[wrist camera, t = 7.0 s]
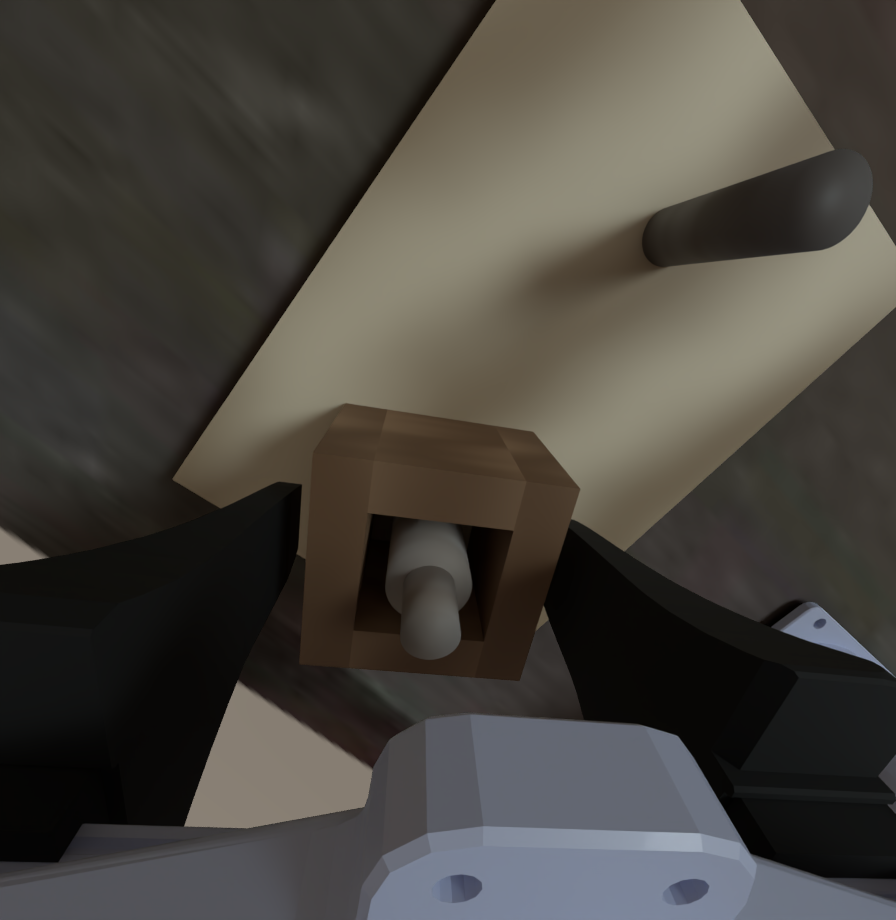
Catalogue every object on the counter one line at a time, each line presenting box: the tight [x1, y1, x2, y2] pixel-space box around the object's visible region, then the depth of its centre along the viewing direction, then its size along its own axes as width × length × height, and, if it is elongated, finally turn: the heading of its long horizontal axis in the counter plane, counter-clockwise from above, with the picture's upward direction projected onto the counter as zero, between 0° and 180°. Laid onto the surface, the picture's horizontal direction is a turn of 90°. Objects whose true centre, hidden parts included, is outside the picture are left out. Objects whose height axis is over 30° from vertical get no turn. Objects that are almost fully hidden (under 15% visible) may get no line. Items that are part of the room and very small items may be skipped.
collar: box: [299, 403, 580, 681], centre depth 11 cm, size 6×6×4 cm
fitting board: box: [172, 0, 896, 660], centre depth 10 cm, size 13×18×6 cm
